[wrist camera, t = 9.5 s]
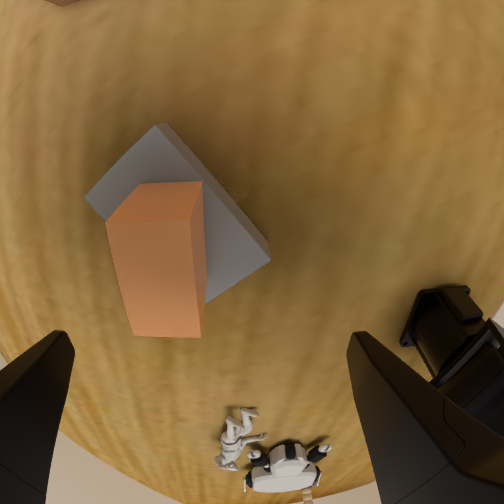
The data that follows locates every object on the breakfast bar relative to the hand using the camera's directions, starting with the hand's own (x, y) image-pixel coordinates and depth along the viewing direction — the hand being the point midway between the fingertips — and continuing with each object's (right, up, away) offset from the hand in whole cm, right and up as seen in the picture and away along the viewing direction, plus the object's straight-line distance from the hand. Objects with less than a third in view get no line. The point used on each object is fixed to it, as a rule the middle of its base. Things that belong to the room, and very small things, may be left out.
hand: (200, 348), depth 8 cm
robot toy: (+6, -28, +29) cm, 41 cm away
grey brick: (-3, +6, +11) cm, 12 cm away
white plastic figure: (-1, -18, +24) cm, 30 cm away
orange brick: (-3, +4, +8) cm, 9 cm away
